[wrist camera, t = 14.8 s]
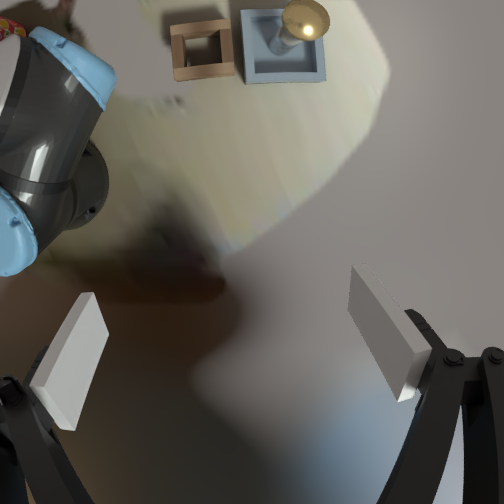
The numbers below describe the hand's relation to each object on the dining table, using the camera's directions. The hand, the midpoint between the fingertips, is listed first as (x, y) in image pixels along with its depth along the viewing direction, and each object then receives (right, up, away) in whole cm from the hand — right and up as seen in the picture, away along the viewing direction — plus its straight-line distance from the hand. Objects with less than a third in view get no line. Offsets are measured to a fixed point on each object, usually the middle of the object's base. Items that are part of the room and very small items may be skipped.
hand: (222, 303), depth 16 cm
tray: (+5, +32, +24) cm, 40 cm away
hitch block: (-6, +31, +24) cm, 39 cm away
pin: (+5, +32, +23) cm, 39 cm away
